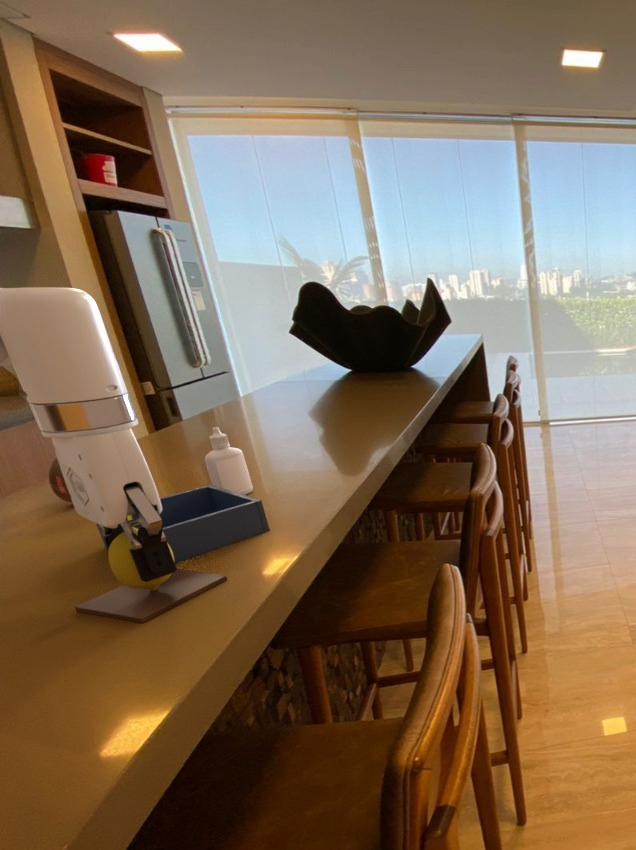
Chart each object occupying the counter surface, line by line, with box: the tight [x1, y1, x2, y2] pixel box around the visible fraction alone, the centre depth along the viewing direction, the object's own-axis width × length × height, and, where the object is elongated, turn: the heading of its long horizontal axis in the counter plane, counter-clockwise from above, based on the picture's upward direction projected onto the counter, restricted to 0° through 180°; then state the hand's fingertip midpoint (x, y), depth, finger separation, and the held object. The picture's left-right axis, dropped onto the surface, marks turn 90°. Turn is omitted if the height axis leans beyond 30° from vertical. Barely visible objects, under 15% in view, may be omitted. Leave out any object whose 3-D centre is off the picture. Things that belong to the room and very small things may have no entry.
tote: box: [95, 484, 271, 564], centre depth 80 cm, size 15×15×5 cm
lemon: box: [107, 527, 174, 591], centre depth 65 cm, size 6×6×8 cm
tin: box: [48, 457, 73, 503], centre depth 98 cm, size 15×3×8 cm, turn 6°
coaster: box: [74, 567, 228, 624], centre depth 66 cm, size 10×10×1 cm
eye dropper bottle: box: [204, 426, 254, 496], centre depth 96 cm, size 4×6×12 cm
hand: (145, 568), depth 65 cm, fingers open, 6 cm apart
